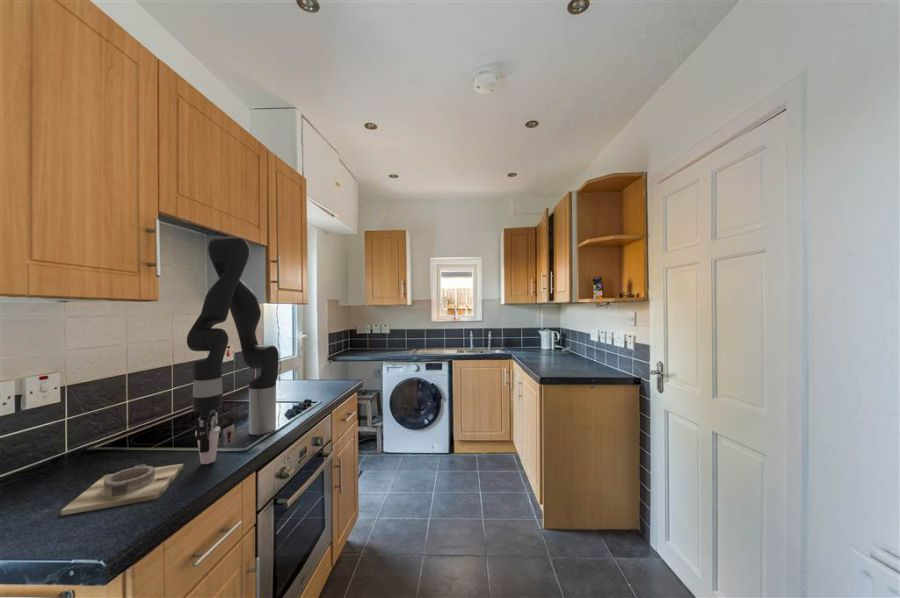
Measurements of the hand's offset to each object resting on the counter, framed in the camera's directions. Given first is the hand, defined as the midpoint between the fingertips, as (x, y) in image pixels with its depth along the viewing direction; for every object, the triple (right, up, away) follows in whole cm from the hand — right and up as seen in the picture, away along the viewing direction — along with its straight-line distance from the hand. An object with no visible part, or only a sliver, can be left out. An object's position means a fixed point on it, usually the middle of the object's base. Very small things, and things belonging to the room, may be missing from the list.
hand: (208, 447), depth 105 cm
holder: (-11, -5, -14) cm, 18 cm away
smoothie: (0, -4, 0) cm, 4 cm away
